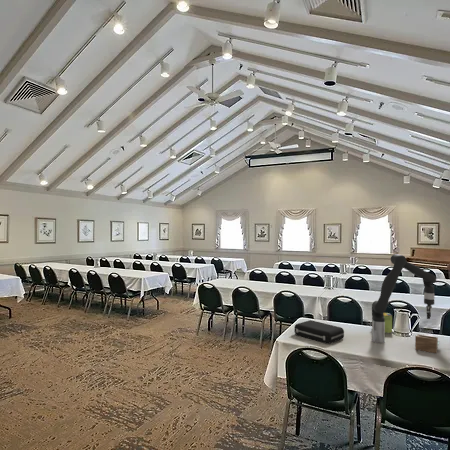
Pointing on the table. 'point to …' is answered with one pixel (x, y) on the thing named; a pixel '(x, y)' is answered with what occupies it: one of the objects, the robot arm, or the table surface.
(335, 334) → the briefcase
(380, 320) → the robot arm
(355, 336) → the table surface
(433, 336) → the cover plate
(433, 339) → the walnut box
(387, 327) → the protein box
